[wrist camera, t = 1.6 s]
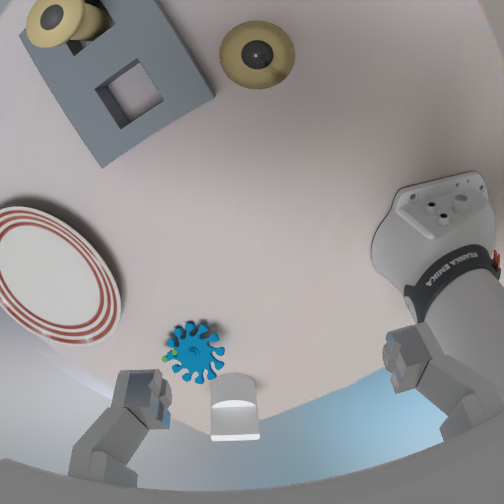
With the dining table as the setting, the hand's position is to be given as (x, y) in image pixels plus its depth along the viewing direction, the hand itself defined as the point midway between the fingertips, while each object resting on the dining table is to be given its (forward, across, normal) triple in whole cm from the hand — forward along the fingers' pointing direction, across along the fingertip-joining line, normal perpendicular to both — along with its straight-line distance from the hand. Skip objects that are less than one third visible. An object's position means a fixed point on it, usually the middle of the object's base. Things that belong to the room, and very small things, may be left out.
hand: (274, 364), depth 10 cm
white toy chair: (+28, +10, +46) cm, 55 cm away
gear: (+28, +14, +30) cm, 43 cm away
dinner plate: (+28, +34, +13) cm, 46 cm away
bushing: (+28, -2, -9) cm, 30 cm away
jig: (+28, +12, -13) cm, 33 cm away
